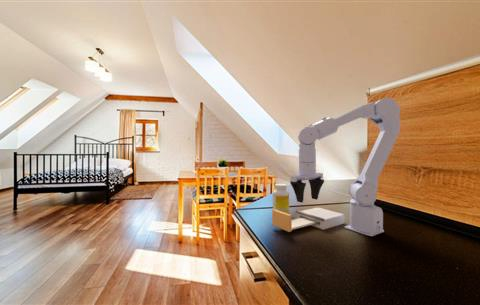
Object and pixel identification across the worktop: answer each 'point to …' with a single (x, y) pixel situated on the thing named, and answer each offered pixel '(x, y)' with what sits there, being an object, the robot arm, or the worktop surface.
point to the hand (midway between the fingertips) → (307, 200)
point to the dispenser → (322, 217)
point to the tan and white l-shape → (289, 221)
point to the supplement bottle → (281, 198)
